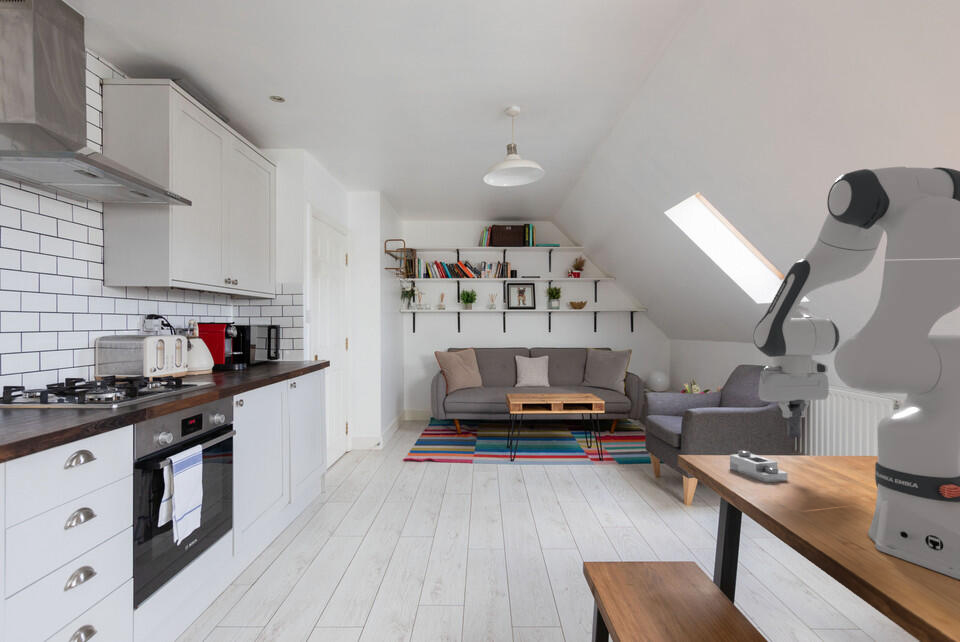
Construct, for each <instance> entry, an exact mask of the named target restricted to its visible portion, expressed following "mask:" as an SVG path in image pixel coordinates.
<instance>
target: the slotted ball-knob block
mask: <svg viewBox="0 0 960 642" xmlns="http://www.w3.org/2000/svg"><path fill="white" fill-rule="evenodd" d="M729 469H730V470H731V471H734V472H737V473H740V474H741V475H742V474H743V475H744V476H748V477H750V478H752V479H755V480H758V481H760V482H763V483H765V484H767V483H777V482H783V481H784V482H786V481H788V472H786V471H783V470H780V469H779V468H778V461H775V460H773V459H769V458H766V457H763V456H761V455H758V454H754V453H751V451H749V450H738V451H737V454H735V453H734V454H729Z"/></svg>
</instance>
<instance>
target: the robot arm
mask: <svg viewBox="0 0 960 642" xmlns="http://www.w3.org/2000/svg"><path fill="white" fill-rule="evenodd" d="M826 202H827V210H828V214H827V216H826V218H825V219H824V222H823V224H822V226H821V228H820V231H819V235H818V237H817V238H816V242H815V243H814V245H813V247H812V248H811V249H810V250H809V252H807V254H806V255H805V256H804V257H803V258H801V259H800V260H798V261H797V262H795V263H794V264H793V265H792V266H791V268H790V269H789V271H788V272H787V273H786V275H785V277H784V279H783V280H782V281H781V284H780V286H779V288H778V290H777V292H776V294H775V295H774V298H773V300H772V301H771V303H770V305H769V306H768V308H767V310H766V313H765V314H764V316H762V318H761V319H760V320H759V321H758V323H757V325H756V326H755V328H754V331H753V343H754V345H755V347H756V348H757V349H758V350H759V351H760V352H761V353H762V354H764V355H765V356H767V357H770V358H772V359H773V361H772V362H773V366H765V367H764V368H763V369H762V371H760V377H759V383H758V392H757V393H758V398H759V399H760V401H763V402H769V403H770V402H771V403H773V402H776V403H777V402H778V406H779V408H780V409H781V412H782V415H781V416H782V417H783V418H786V419H787V418H792V417H793V415H792V411H790V410H789V408H788V405H789V401H795V400H803V404H800V415H801V418H805V417H806V415H807V414H806V411H807V409H808V407H809V405H810V401H823V400H827V399H828V396H829V391H830V389H829V387H830V386H829V378H828V376H827V374H826V373H828V370H829V368H828V365H827V364H824V363H822V362H820V361H817V360H815V359H813V356H823V355H824V356H825V355H828V354H831V353H832V352H834V351H835V350H836V348H837V346H838V345H839V343H840V330H839V328H838V327H837V325H836V324H835V323H834V322H833V321H832V320H831V319H829V318H824V317H820V316H818V315H815V314H813V313H811V311H810V310H809V308H807V307H805V306H803V305H801V306H800V304H801V302H802V300H803V299H804V298H805V297H806V296H807V295H808V294H809V293H811V292H813V291H815V290H818V289H820V288H822V287H824V286H825V287H826V286H828V285H831V284H834V283H838V282H841V281H846V280H849V279H851V278H854V277H855V276H858V275H859V274H861V273H863V272H864V271H865V270H866V269H867V268H868V266H869V265H870V264H871V262H872V261H873V259H874V258H875V255H876V254H877V253H876V252H877V250H878V248H879V245H880V242H881V240H882V237H883V234H884V232H885V234H886V248H885V254H884V266H883V276H882V282H881V289H880V295H879V296H880V297H879V299H878V303H877V305H876V308H875V310H874V312H873V314H872V315H871V317H870V318H869V320H868V321H867V322H866V324H865V325H864V326H863V327H862V328H861V329H860V330H859V331H857V333H855V334H854V335H852V336H851V337H849V338H848V339H846V340H844V341H843V342H842V343H841V344H840V346H839V347H838V348H837V350H836V352H835V355H834V359H833V360H834V361H833V363H834V369H835V372H836V375H838V378H839V379H840V380H841V381H842V382H843V383H844V384H845V385H846V386H847V387H848V388H849V387H850V388H852V389H856V390H860V391H864V392H870V393H878V394H901V395H903V394H905V395H906V397H905V399H904V401H903V403H902V404H901V406H900V407H899V408H898V409H897V410H895V411H894V412H891V413H889V414H888V415H885V416H884V417H883V418H882V419H880V421H879V423H878V425H877V461H876V462H875V465H874V477H875V478H874V479H875V484H876V485H875V486H876V488H877V492H876V493H877V494H876V500H875V501H876V502H875V508H874V513H873V517H872V521H871V523H870V527H869V529H868V531H867V534H868V537H869V538H870V539H871V540H872V541H873V543H875V545H874V547H875V549H876V550H878V551H879V552H883V553H885V554H888V555H891V556H892V557H896V558H899V559H902V560H903V561H907V562H910V563H912V564H915V565H918V566H920V567H923V568H926V569H929V570H932V571H935V572H937V573H940V574H943V575H946V576H949V577H952V578H954V579H957V580H960V335H958V334H930V332H931V330H932V329H933V327H934V325H935V324H936V323H937V322H938V321H939V320H940V319H941V318H942V317H944V316H946V315H947V314H949V313H952V312H953V311H955V310H957V309H958V308H960V170H956V169H953V168H948V167H942V166H941V167H936V166H935V167H932V168H929V167H905V166H891V167H883V168H882V167H880V168H875V169H868V168H863V169H857V170H855V171H854V170H853V171H850V172H847V173H844V174H841V175H840V176H839V177H838V178H837V179H836V180H835V181H834V182H833V184H832V186H831V187H830V189H829V191H828V195H827V201H826Z"/></svg>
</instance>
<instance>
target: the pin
mask: <svg viewBox="0 0 960 642" xmlns="http://www.w3.org/2000/svg"><path fill="white" fill-rule="evenodd" d="M800 404H803V400H795V401H789V405H788V408H789V410H790V411H792V415H793V417H792V418H786V420H787V423H786V424H787V436H788V437H789V438H790V437H791V438H802V425H801V424H802V421H801V420H802V417H801V415H800Z"/></svg>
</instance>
